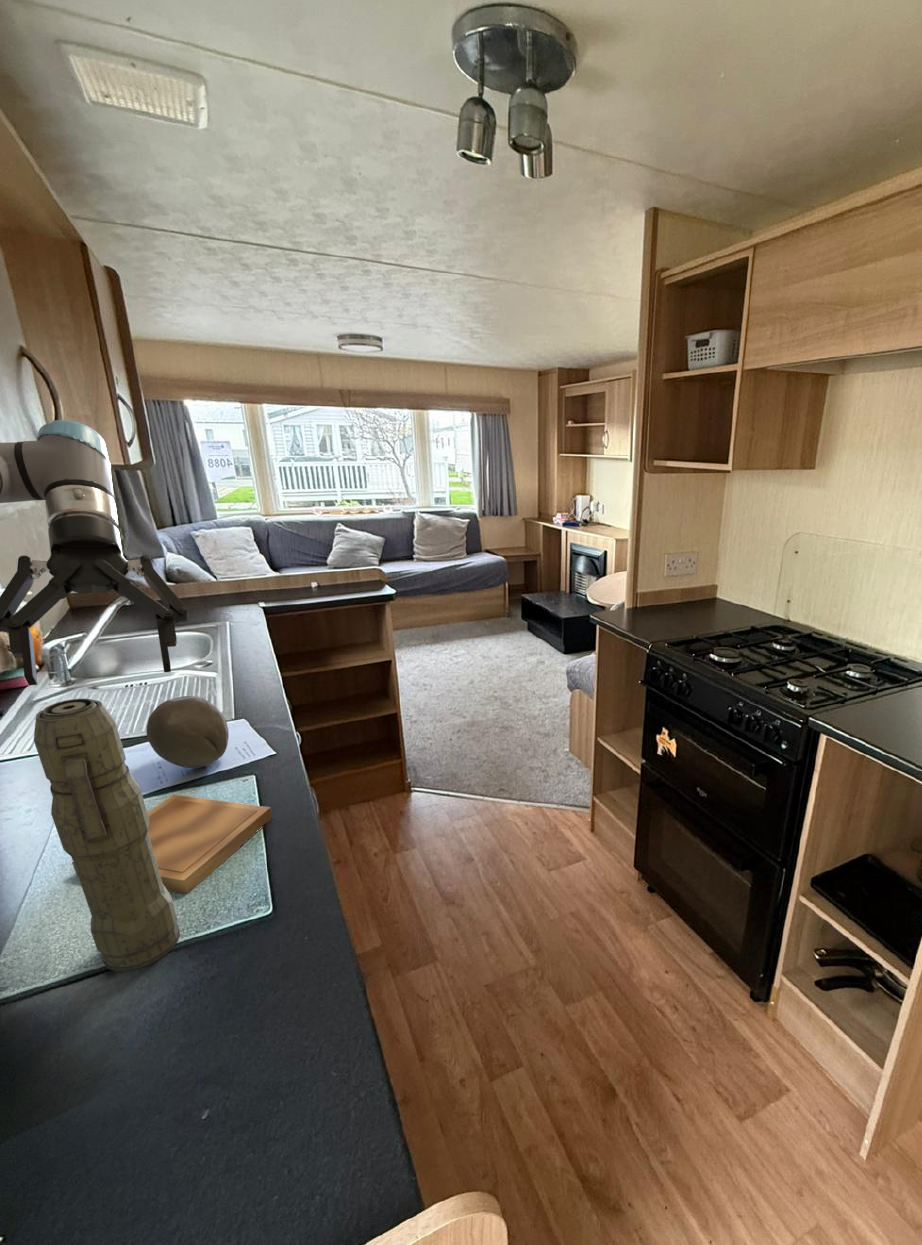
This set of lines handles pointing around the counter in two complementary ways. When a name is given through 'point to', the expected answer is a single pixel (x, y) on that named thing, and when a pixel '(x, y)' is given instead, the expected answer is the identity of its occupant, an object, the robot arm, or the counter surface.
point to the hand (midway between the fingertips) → (102, 674)
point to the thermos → (105, 833)
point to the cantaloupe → (188, 732)
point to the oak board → (198, 836)
